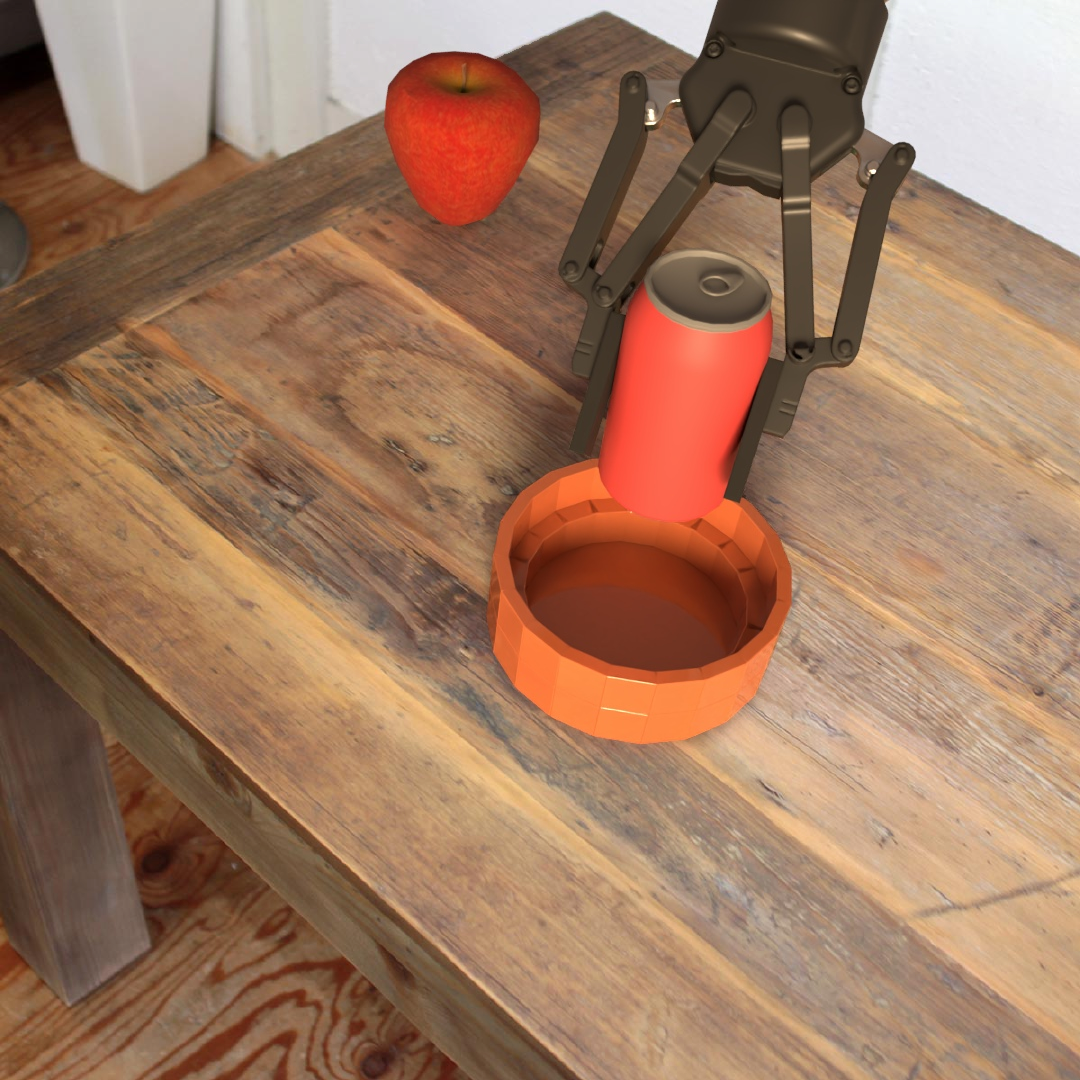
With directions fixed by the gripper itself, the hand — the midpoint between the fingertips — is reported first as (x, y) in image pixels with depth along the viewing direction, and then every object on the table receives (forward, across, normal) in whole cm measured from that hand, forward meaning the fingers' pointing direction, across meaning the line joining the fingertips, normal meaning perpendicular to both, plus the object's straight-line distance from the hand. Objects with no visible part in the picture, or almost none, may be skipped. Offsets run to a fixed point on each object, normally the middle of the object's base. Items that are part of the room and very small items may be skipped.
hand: (655, 476), depth 61 cm
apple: (-15, +23, -36) cm, 45 cm away
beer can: (0, 0, -5) cm, 5 cm away
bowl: (+9, 0, -13) cm, 15 cm away
